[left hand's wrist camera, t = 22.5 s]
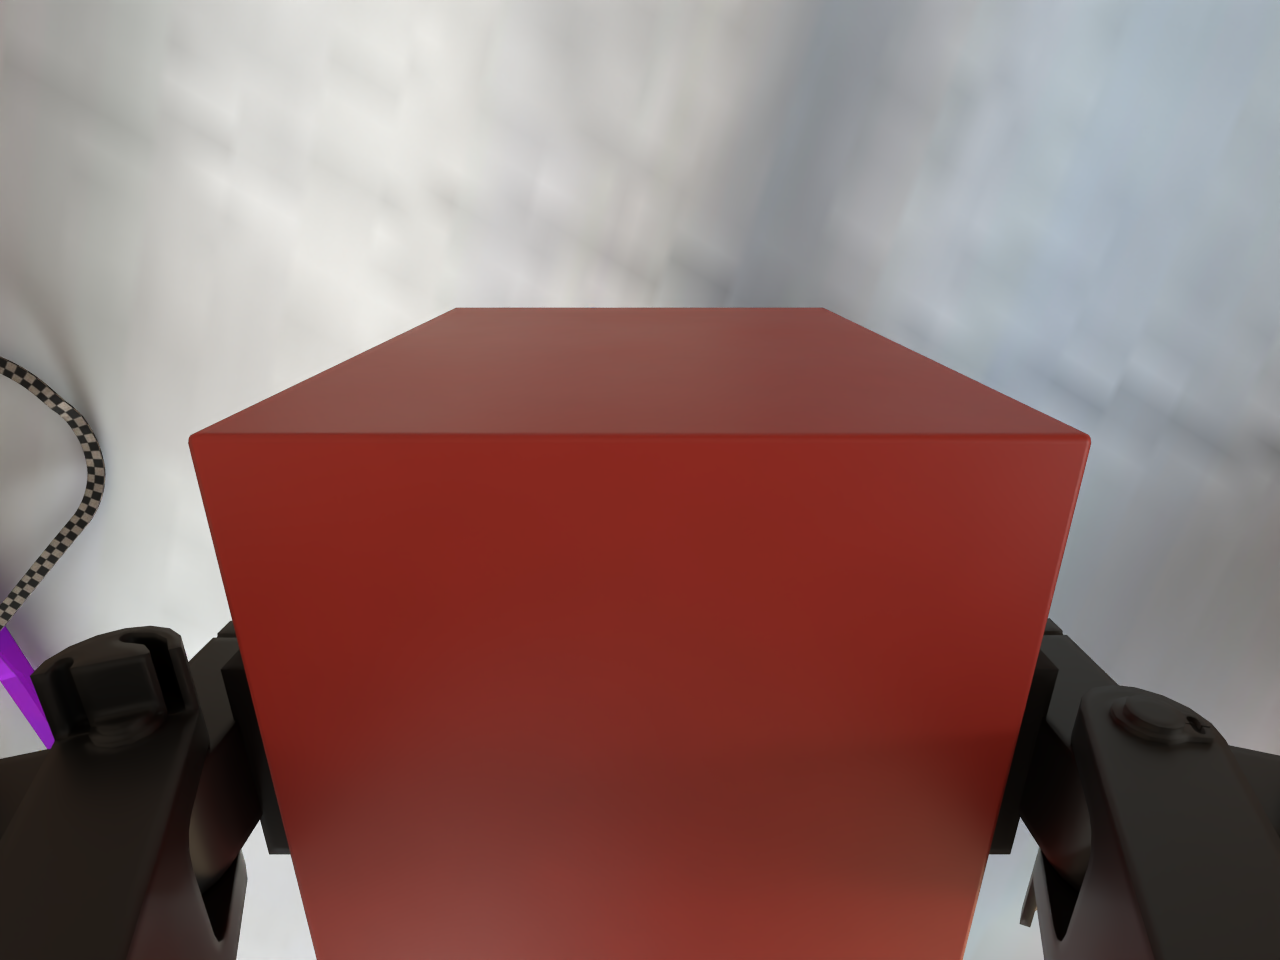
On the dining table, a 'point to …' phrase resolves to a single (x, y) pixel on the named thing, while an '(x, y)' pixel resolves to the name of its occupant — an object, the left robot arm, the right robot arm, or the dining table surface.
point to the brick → (639, 632)
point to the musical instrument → (3, 654)
